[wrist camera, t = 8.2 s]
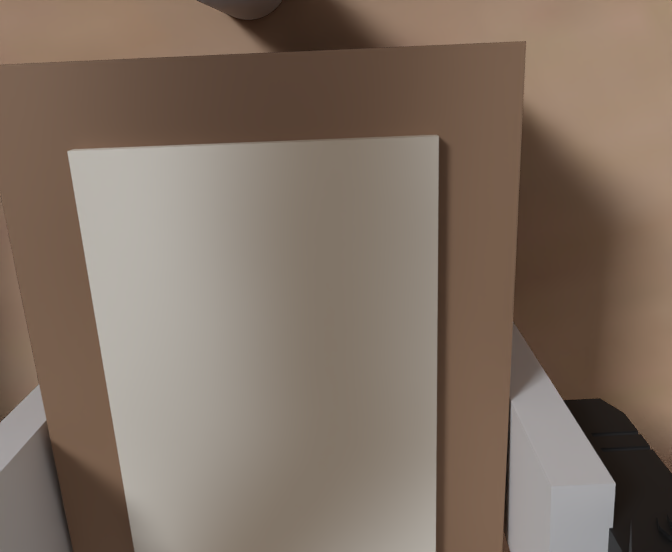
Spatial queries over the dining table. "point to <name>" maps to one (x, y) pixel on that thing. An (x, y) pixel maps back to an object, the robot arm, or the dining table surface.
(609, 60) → the dining table surface
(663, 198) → the dining table surface
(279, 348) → the frame
